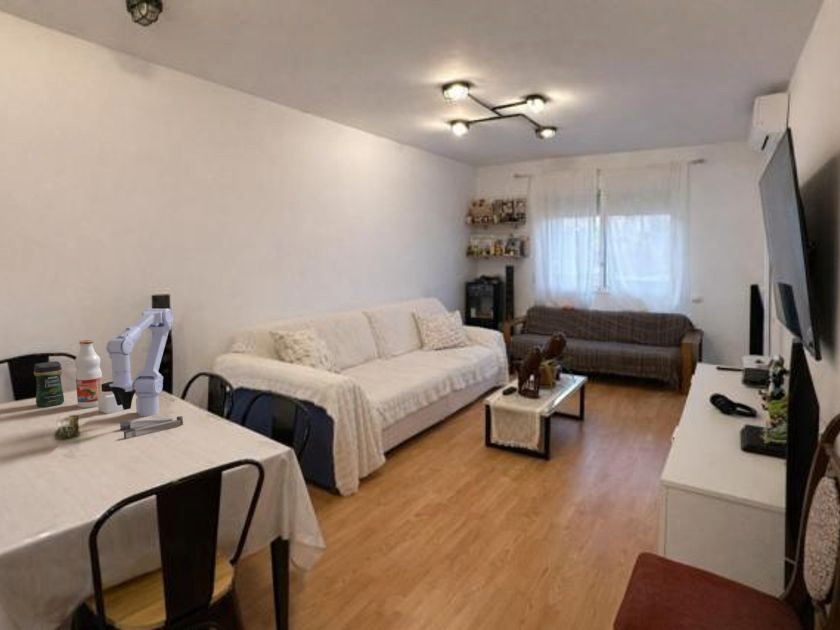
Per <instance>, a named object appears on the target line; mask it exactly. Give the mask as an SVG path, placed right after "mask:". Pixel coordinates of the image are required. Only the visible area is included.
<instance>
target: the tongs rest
mask: <svg viewBox="0 0 840 630" xmlns="http://www.w3.org/2000/svg"><path fill="white" fill-rule="evenodd" d="M183 425H184V420H183V416H182V415H179V416H177V417H176V420H174V419H173V421H170V422H165V423H161V424H156V425H152V426H147V427H143V428H138V429H128V430H126V431H125V430H124V431H123V437H124V439H126V440H127V439H131V438H134V437H140V436H144V435H148V434H153V433H156V432H161V431H166V430H169V429H174V428H179V427H181V426H183Z"/></svg>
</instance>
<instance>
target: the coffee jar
mask: <svg viewBox="0 0 840 630" xmlns="http://www.w3.org/2000/svg"><path fill="white" fill-rule="evenodd" d="M62 372H63V368H62V363H61V362H59V361H55V360H54V361H46V362H40V363H35V364H34V366H33V375H34V377H35V378H36V379H35V381H36V392H35V393H36V395H35V405H36V406H37V407H39V408H45V407H46V408H47V407H48V408H49V407H54V406H57V405H62V404H63V403H65V396H64V392H63V386H62V381H61V377H62V376H61V375H62Z"/></svg>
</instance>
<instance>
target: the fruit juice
mask: <svg viewBox="0 0 840 630" xmlns="http://www.w3.org/2000/svg"><path fill="white" fill-rule="evenodd" d="M79 346H80V350H79V352H78V355H77V357H76V358H75V359H74V365H75V367H76V372H75V386H76V396H77V397H76V398H77V405H78V406H77V407H79V408H80V409H81V408H83V409H88V408H95V407H98V394H102V387H101V385H102V384H103V383H104V382H103V373H102V369H101V361H102V360H101V357H100V356H99V355H98V354H97V353H96V351H95V349H94V340H93V339H85V340H83V339H82V340H79Z"/></svg>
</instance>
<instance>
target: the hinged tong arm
mask: <svg viewBox="0 0 840 630" xmlns="http://www.w3.org/2000/svg"><path fill="white" fill-rule="evenodd" d="M170 421H174V419H173V417H170V418H159V419H158V418H157V419H148V420H147V419H146V420H145V419H144V420H134V421H121V422H120V423H119V424H120V431H125V430H126V431H129V430H134V429H138V428H143V427H147V426H152V425H156V424H161V423H165V422H170Z"/></svg>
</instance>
